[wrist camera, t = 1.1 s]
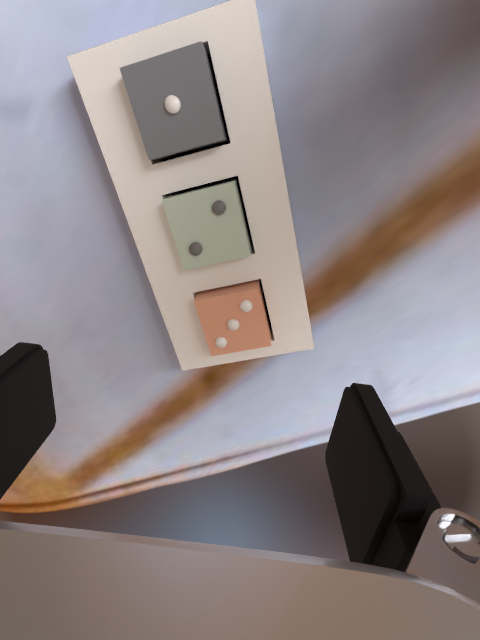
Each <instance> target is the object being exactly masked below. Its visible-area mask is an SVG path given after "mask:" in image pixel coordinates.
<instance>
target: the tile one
mask: <svg viewBox="0 0 480 640" xmlns="http://www.w3.org/2000/svg"><path fill="white" fill-rule="evenodd" d="M120 72H121V75H122V78H123V81H124V84H125V87H126V90H127V93H128V97H129V100H130V103H131V106H132V109H133V112H134V115H135V119H136V122H137V125H138V128H139V131H140V134H141V137H142V141H143V144H144V147H145V150H146V153H147V156H148V159H149V160H159V159H162V158H166V157H170V156H173V155H177V154H180V153H184V152H188V151H191V150H195V149H199V148H202V147H206V146H210V145H213V144H217V143H220V142H224V141H227V136H226V132H225V128H224V123H223V119H222V114H221V110H220V105H219V101H218V97H217V92H216V88H215V83H214V79H213V75H212V70H211V66H210V61H209V57H208V52H207V50H206V49H205V47H204V45H203V43H202V42H201V41H200V42H197V43H194V44H191V45H188V46H185V47H182V48H179V49H176V50H173V51H170V52H167V53H163V54H160V55H157V56H154V57H151V58H148V59H145V60H142V61H139V62H136V63H133V64H130V65H127V66H124V67H121V68H120Z"/></svg>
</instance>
